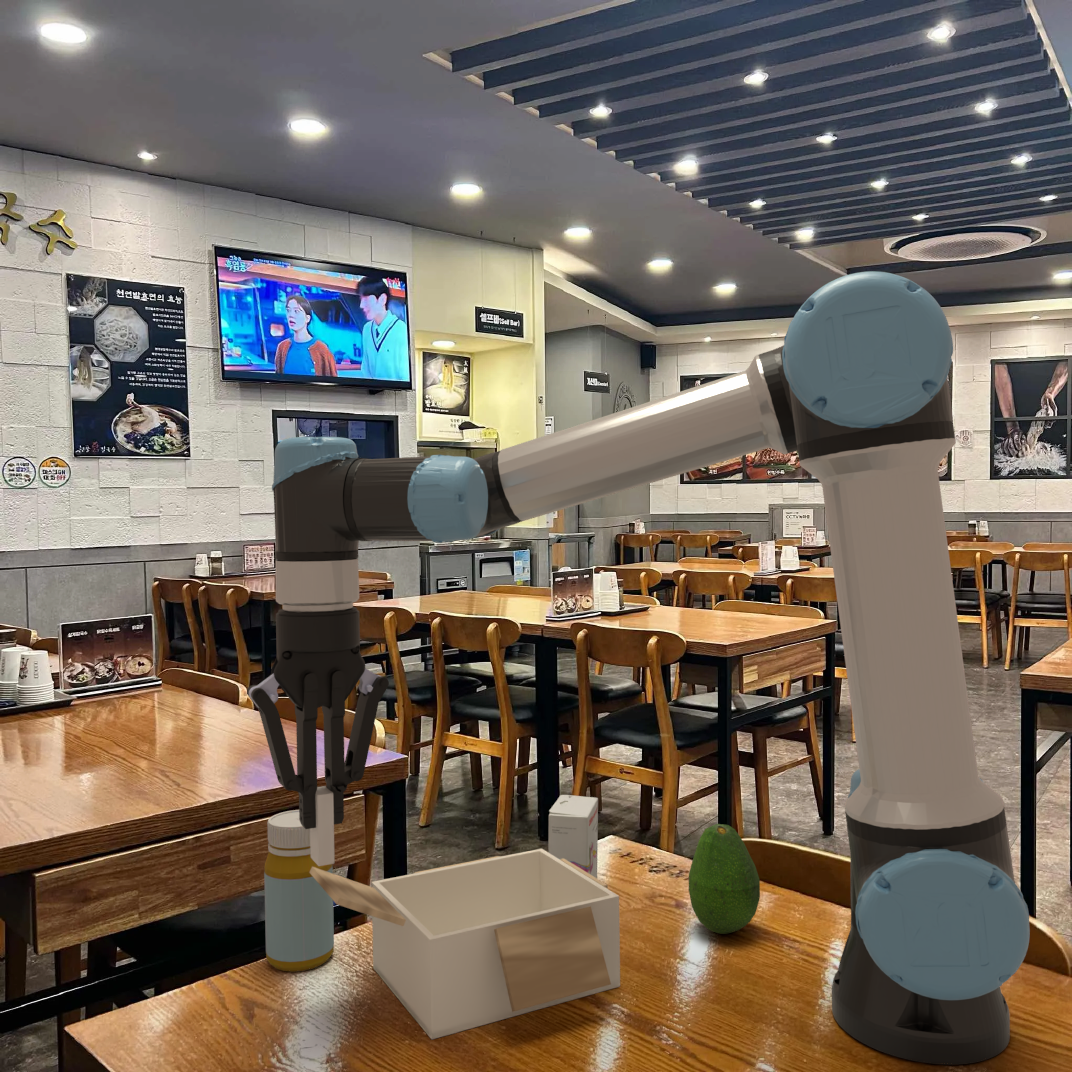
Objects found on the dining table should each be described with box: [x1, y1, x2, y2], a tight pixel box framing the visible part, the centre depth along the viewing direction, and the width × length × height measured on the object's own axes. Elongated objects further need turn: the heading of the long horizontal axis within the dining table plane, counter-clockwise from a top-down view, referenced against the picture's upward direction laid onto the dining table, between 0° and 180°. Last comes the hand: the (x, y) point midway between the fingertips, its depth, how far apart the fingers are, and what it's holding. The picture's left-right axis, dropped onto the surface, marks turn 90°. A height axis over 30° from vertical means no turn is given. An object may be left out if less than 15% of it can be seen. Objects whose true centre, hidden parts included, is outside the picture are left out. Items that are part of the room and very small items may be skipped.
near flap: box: [494, 906, 611, 1012], centre depth 91 cm, size 1×10×7 cm, turn 118°
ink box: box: [547, 794, 599, 879], centre depth 119 cm, size 9×5×12 cm, turn 168°
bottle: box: [263, 809, 335, 973], centre depth 105 cm, size 7×7×15 cm
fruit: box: [688, 823, 761, 935], centre depth 110 cm, size 8×8×12 cm
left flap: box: [309, 867, 406, 926], centre depth 93 cm, size 9×1×7 cm
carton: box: [371, 848, 621, 1040], centre depth 101 cm, size 17×21×9 cm
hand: (322, 860), depth 92 cm, fingers closed
